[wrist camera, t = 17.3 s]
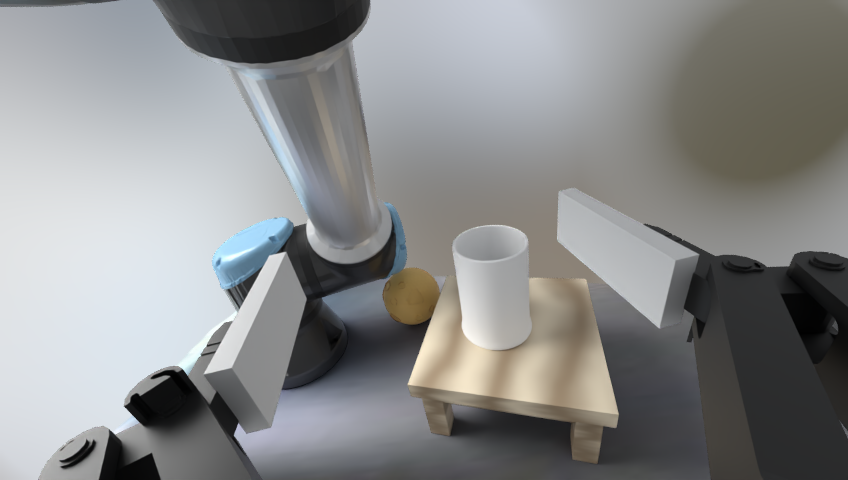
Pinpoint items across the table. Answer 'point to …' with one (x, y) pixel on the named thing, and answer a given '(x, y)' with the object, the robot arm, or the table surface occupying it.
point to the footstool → (522, 366)
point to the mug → (493, 285)
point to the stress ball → (411, 296)
